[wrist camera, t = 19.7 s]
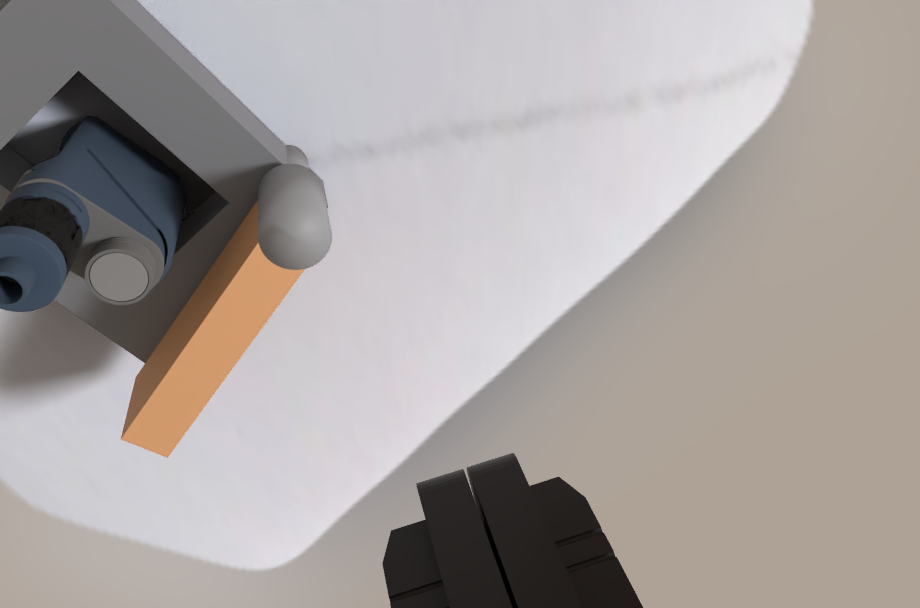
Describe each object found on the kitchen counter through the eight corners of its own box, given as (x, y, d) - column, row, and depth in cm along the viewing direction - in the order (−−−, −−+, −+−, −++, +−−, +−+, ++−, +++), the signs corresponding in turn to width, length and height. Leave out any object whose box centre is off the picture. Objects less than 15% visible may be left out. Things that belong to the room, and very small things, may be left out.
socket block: (-107, 137, 28) (-146, 165, 26) (83, -64, 27) (62, -57, 24) (159, 330, 34) (150, 369, 32) (327, 176, 33) (334, 203, 30)
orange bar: (281, 151, 28) (284, 189, 25) (336, 185, 29) (345, 227, 26) (128, 374, 31) (112, 435, 28) (184, 398, 32) (174, 460, 29)
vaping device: (80, 100, 29) (-16, 225, 19) (199, 185, 32) (171, 335, 22) (41, 151, 30) (-73, 298, 20) (162, 230, 32) (116, 398, 22)
